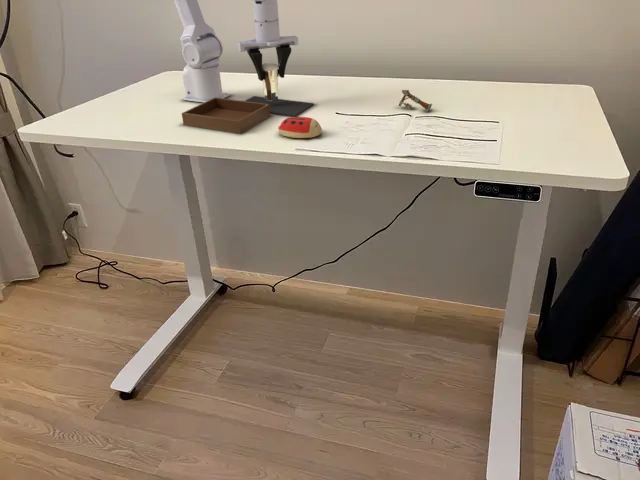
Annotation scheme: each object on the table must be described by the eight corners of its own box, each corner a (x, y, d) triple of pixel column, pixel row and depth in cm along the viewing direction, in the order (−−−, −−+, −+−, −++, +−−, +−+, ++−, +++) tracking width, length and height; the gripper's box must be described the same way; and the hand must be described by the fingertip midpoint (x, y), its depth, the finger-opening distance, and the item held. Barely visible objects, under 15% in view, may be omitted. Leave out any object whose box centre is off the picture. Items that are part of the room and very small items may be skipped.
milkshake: (281, 103, 139) (278, 62, 134) (260, 102, 140) (257, 61, 135) (285, 97, 143) (283, 57, 138) (265, 97, 144) (262, 57, 139)
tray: (183, 125, 133) (181, 113, 131) (216, 108, 143) (214, 97, 141) (240, 133, 126) (239, 121, 125) (270, 115, 136) (269, 104, 135)
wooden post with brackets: (397, 102, 139) (404, 86, 136) (424, 118, 137) (433, 103, 134) (394, 104, 137) (402, 88, 134) (422, 121, 136) (430, 105, 133)
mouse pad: (232, 108, 142) (232, 107, 142) (254, 97, 150) (254, 96, 150) (294, 116, 135) (294, 115, 135) (314, 104, 142) (313, 103, 142)
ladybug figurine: (319, 140, 121) (319, 124, 119) (275, 139, 122) (273, 123, 121) (324, 129, 127) (323, 114, 125) (281, 128, 128) (280, 113, 126)
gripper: (241, 26, 126) (247, 86, 133) (301, 19, 131) (304, 78, 138) (233, 21, 132) (239, 79, 139) (291, 15, 136) (294, 71, 143)
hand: (271, 78), depth 139 cm, fingers closed on milkshake, 5 cm apart
